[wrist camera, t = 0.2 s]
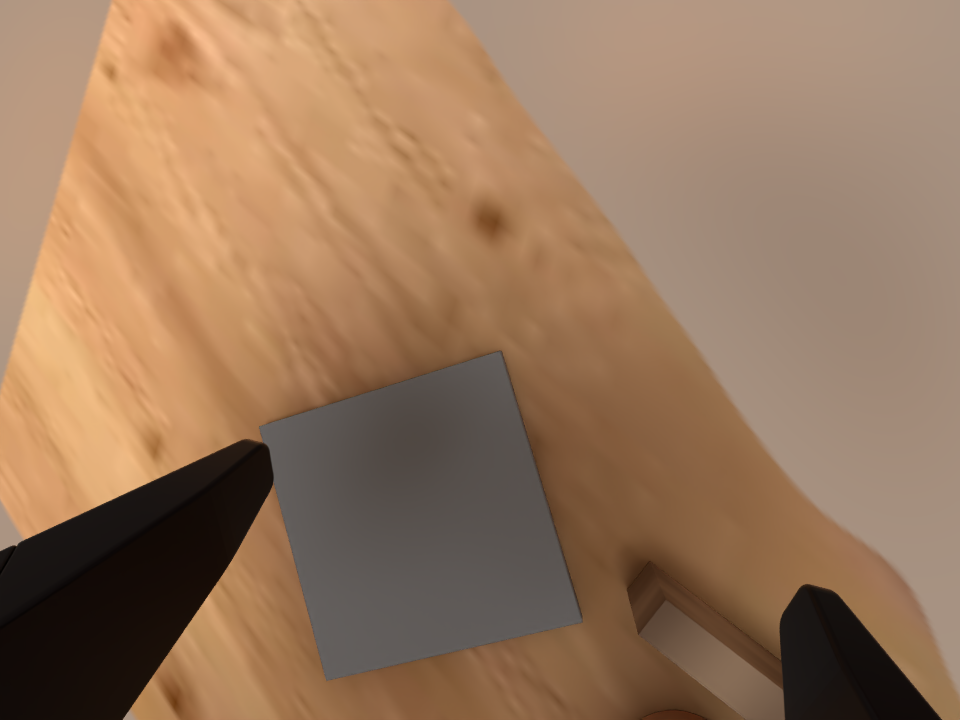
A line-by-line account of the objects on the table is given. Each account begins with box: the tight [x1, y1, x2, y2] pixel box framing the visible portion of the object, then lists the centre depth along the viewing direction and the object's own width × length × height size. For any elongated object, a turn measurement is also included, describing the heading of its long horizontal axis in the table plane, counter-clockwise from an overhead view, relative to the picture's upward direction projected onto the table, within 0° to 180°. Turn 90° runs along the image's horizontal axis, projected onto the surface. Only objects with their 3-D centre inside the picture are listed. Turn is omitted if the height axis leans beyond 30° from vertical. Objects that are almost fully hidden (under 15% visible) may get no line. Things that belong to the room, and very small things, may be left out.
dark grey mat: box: [259, 351, 583, 681], centre depth 24 cm, size 12×12×1 cm
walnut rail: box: [627, 562, 785, 720], centre depth 20 cm, size 12×2×4 cm, turn 54°
